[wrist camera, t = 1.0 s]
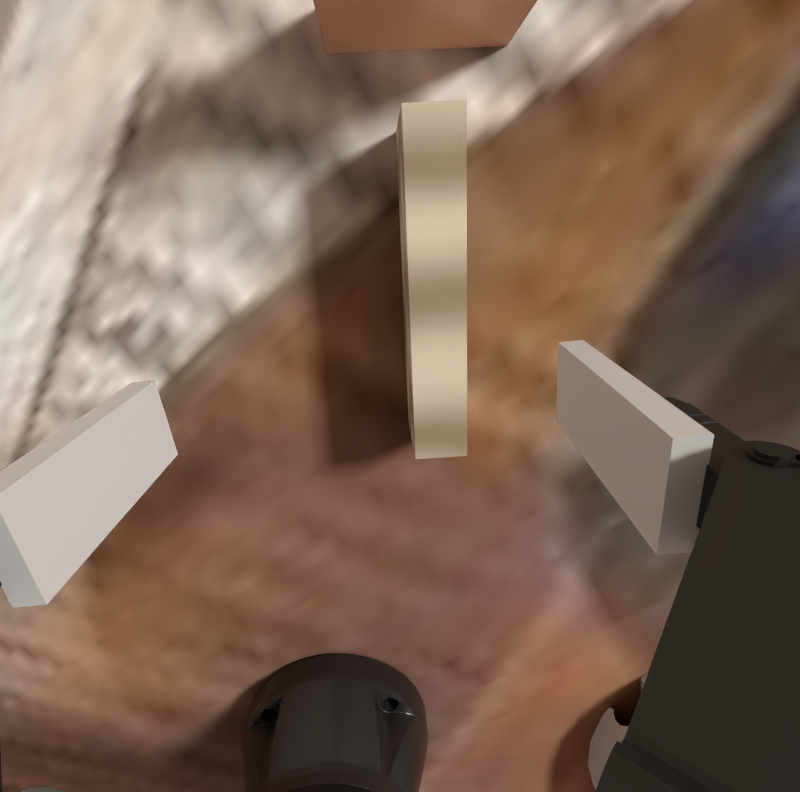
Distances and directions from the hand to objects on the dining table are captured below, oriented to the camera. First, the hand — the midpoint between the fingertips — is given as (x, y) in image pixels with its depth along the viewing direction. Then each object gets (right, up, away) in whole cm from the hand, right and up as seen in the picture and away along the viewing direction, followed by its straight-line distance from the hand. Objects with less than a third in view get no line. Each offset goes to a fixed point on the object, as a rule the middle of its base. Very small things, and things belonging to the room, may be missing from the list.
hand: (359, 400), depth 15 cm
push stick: (+3, +7, +15) cm, 17 cm away
